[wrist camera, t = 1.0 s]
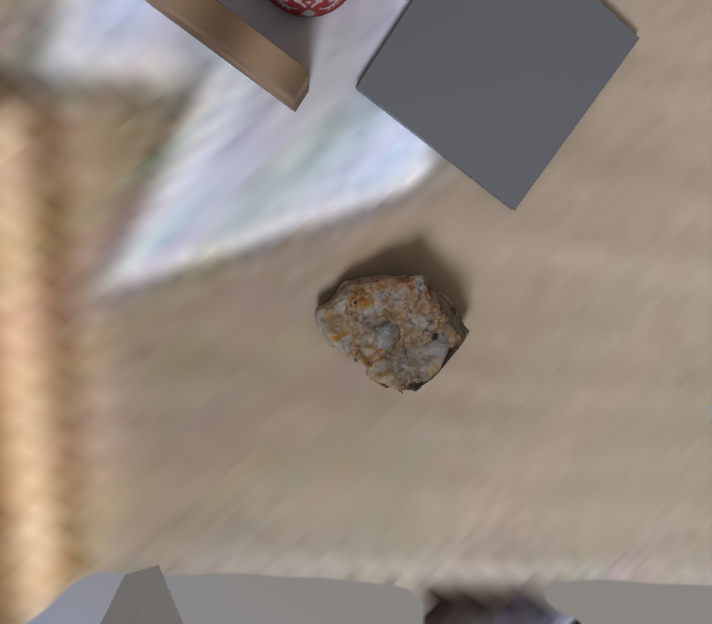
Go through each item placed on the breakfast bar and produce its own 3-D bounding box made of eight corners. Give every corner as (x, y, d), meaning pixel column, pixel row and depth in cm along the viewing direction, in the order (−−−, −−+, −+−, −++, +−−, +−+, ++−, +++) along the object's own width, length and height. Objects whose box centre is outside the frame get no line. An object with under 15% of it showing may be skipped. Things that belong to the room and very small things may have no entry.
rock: (473, 307, 37) (377, 232, 33) (500, 352, 32) (389, 270, 28) (398, 378, 40) (301, 317, 36) (411, 430, 35) (300, 366, 31)
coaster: (355, 88, 32) (356, 86, 32) (480, -104, 30) (483, -109, 30) (511, 209, 35) (514, 209, 34) (633, 41, 33) (639, 38, 33)
